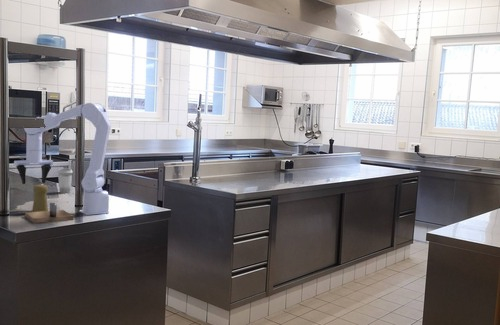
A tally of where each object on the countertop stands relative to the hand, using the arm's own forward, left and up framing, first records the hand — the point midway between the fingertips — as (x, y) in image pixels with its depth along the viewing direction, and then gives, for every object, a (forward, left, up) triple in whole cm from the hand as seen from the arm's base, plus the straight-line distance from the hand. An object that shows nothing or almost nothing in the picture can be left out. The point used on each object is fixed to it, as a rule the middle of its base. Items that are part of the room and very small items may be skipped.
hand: (33, 183), depth 199 cm
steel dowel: (0, +25, -9) cm, 26 cm away
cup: (-22, -29, -11) cm, 38 cm away
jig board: (0, +20, -10) cm, 23 cm away
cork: (0, +9, -11) cm, 14 cm away
